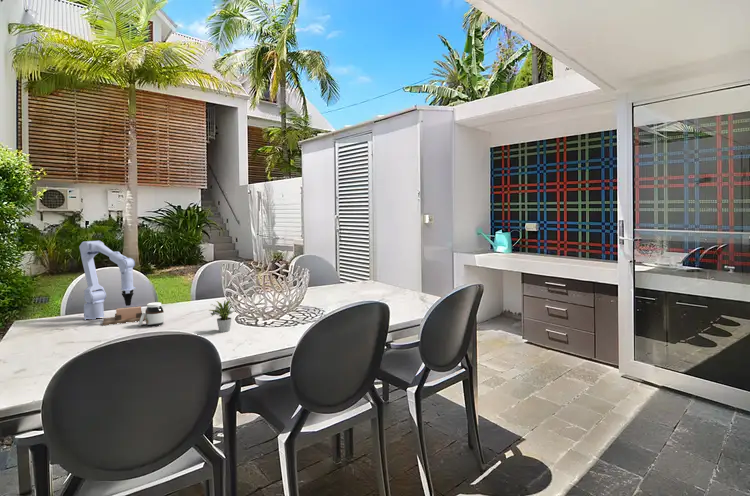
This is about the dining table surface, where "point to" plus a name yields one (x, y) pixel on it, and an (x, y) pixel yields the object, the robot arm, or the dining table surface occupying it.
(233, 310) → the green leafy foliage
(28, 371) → the dining table surface
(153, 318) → the spread jar
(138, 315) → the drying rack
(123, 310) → the orange brown rectangular block
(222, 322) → the house plant
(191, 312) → the dining table surface
